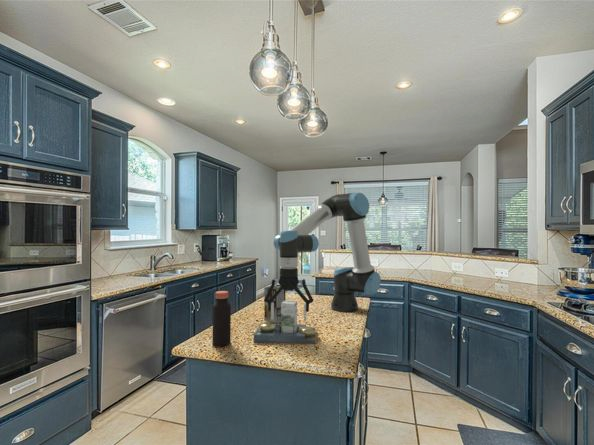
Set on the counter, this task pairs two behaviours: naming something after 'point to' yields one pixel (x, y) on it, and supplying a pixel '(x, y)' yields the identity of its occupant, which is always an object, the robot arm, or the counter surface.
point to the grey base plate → (309, 338)
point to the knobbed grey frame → (275, 333)
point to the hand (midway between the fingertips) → (288, 319)
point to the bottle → (221, 320)
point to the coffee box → (277, 304)
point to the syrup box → (289, 317)
